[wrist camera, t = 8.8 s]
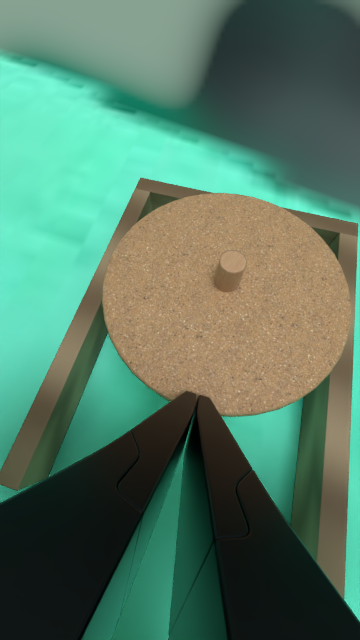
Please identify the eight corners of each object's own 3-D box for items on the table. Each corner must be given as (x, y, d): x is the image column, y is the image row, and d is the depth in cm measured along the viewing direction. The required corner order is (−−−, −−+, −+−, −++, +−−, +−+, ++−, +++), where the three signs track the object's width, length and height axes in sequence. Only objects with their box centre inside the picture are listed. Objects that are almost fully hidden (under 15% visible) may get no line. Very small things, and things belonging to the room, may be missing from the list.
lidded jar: (100, 353, 18) (24, 287, 9) (190, 250, 21) (197, 129, 12) (231, 456, 15) (297, 502, 7) (309, 323, 19) (425, 236, 10)
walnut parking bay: (309, 570, 13) (343, 609, 11) (29, 471, 15) (-6, 482, 12) (334, 250, 21) (358, 223, 18) (145, 207, 23) (140, 177, 20)
